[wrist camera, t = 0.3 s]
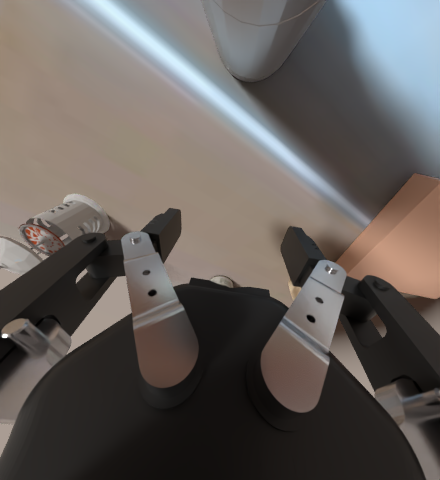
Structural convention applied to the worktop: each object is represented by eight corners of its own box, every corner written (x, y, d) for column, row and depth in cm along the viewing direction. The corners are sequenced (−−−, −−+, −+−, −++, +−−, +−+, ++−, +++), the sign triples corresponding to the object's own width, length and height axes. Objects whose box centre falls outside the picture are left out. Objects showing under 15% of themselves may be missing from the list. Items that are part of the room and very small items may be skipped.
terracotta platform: (414, 173, 23) (442, 181, 20) (543, 201, 23) (590, 213, 20) (332, 265, 35) (341, 279, 32) (418, 283, 36) (435, 299, 32)
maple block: (296, 269, 37) (303, 287, 33) (317, 273, 37) (326, 291, 33) (287, 282, 40) (292, 300, 36) (306, 286, 40) (313, 304, 36)
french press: (116, 217, 34) (-61, 351, 14) (99, 244, 40) (-46, 367, 20) (69, 183, 30) (-260, 297, 10) (57, 218, 36) (-172, 336, 16)
